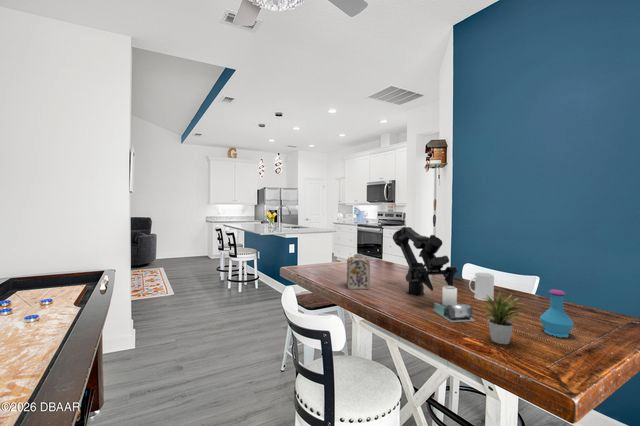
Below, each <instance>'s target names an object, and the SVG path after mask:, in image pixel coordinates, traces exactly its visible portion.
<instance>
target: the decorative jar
mask: <svg viewBox="0 0 640 426" xmlns="http://www.w3.org/2000/svg"><path fill="white" fill-rule="evenodd" d="M346 260H347V261H346V285H347V288H348V290H370V288H371V262H370V259H369V258H368V257H366V256H363V253H354V254H353V256H350V257H347V259H346Z"/></svg>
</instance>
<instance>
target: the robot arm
mask: <svg viewBox="0 0 640 426" xmlns="http://www.w3.org/2000/svg"><path fill="white" fill-rule="evenodd" d="M412 228H413V227H410V226H403V227H401V228H400V229H399V230H396V231H395V232H394V233H393V235H392V240H393V242H394V244H395V245H396V246H398V247H400V249H401V251H402V254H403V256H404V259H405V261H406V263H407V265H408V268H407V269H408V270H407V274H406V275H405V281H406V282H407V283H408V291H407V292H406V294H409V295H413V296H416V297H418V296H422V295H424V294H425V292H424V291H425V290H424V288H425V287H424V285H425V286H426V287H427V288H428V289H429V290H431V291H434V287H433V284H432V282H431V280H430V276H443V277H444V281H445V282H446V284H447V286H454V277H455V276H456V274H458V268H457V267H456V266H446V268H445V269H443V268H444V266H445V265H447V264H449V263H450V258H449V256H448V255H443V256H436V255H435V254H436V253H438V251H439V250H440V248H441V247H442V246H443V241H442V239H440V238H439V237H437V236H436V235H435V234H430V236H426V235H421V234H419V233H418V232H417V231H415V230H414V229H412ZM410 241H411V242H412V243H413V244H412V245H413V247H414V248H415V249H417V250H420V251H419V255H418V257H419V258H422V259H421V260H422V261H423V262H418V260H417V258H416V256H415V253H414V252H413V250H412V248H411V246H410V244H409V242H410Z"/></svg>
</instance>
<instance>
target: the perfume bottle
mask: <svg viewBox="0 0 640 426" xmlns="http://www.w3.org/2000/svg"><path fill="white" fill-rule="evenodd" d="M548 293H549V295H550V301H549V303H550V305H549V306H550V307H549V308H548V309H546V311H545V312H543V313H542V314H541V315H540V318H539V320H540V323H541V324H542V328H544V329H543V330H544V331H543V332H544V333H545V334H547V335H549V336H552V335H553V336H552V337H556V336H557V337H556V338H562V337H566V338H569V334H570V333H571V332H572V330H573V328H574V321H573V320H572V319H571V318H570V316H569V315H568V314H567V313H566V311H565V310H564V297H565V295H566V292H565V291H563V290H560V289H550V290H548Z"/></svg>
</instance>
